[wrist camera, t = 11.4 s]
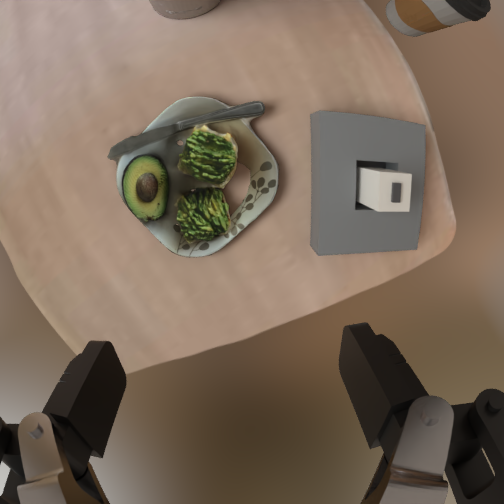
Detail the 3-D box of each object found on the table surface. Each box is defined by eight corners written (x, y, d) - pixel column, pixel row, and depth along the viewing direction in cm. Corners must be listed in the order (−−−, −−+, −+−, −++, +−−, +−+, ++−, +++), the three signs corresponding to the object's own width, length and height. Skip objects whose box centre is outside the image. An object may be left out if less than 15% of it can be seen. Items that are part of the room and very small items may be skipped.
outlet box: (310, 114, 29) (319, 110, 26) (410, 125, 30) (425, 125, 26) (310, 245, 35) (317, 255, 31) (403, 240, 35) (416, 249, 32)
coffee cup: (433, 31, 24) (500, 7, 10) (408, 52, 26) (482, 26, 12) (396, -10, 22) (452, -49, 8) (366, 8, 23) (425, -40, 9)
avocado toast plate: (217, 58, 26) (214, 44, 22) (314, 170, 32) (326, 174, 27) (99, 168, 30) (81, 171, 26) (192, 269, 35) (187, 286, 31)
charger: (352, 166, 31) (381, 172, 24) (380, 167, 31) (413, 174, 24) (351, 198, 32) (379, 212, 26) (379, 198, 32) (410, 212, 26)
